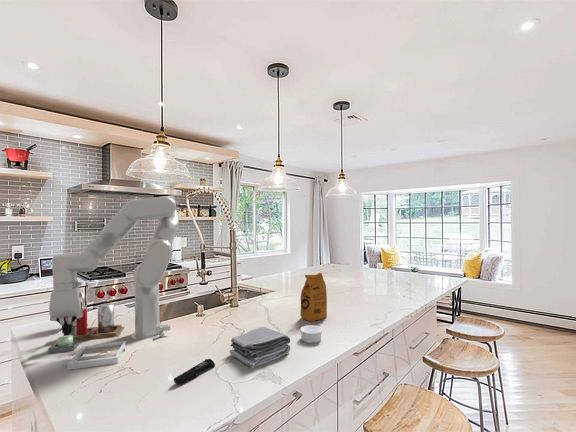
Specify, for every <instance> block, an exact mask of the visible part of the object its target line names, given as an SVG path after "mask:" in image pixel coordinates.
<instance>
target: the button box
mask: <svg viewBox="0 0 576 432" xmlns="http://www.w3.org/2000/svg"><path fill="white" fill-rule="evenodd" d="M81 343H82V341H81V338H75V339H73V343H72V344H71V345H65V346H58V339H57V340H56V341H55V342H54V343H53V344H52V345H51V346H50V347H48V348H47V352H48V354H57V353H65V352H67V353H68V352H74V351H75V350H76V349H77V348H78V346H79V345H80V344H81Z"/></svg>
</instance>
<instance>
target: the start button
mask: <svg viewBox="0 0 576 432" xmlns="http://www.w3.org/2000/svg"><path fill="white" fill-rule="evenodd" d="M57 340H58V346H65V345H71V344H72V343H73V336H72V335H67V336H64V335H62V336H60V337H57Z"/></svg>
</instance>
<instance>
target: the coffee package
mask: <svg viewBox="0 0 576 432" xmlns="http://www.w3.org/2000/svg"><path fill="white" fill-rule="evenodd" d="M304 278H305V279H306V280H305V283H304V285H303V287H302V289H301V293H300V312H299V313H300V317H301V319H303V320H305V321H307V322H310V323H312V322H316V321H319V320H320V321H321V320H324V319H326V318H327V315H328V311H327V309H328V308H327V307H328V306H327V305H328V296H327V295H328V294H327V293H328V292H327V286H326V281H325V280H324V276H323V273H322V272H318V273H316V274H305V275H304Z"/></svg>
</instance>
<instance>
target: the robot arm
mask: <svg viewBox="0 0 576 432" xmlns="http://www.w3.org/2000/svg"><path fill="white" fill-rule="evenodd" d="M151 219H158V221H157V224H156V226H155V227H156V228H155V229H154V232H153V235H152V237H151V239H149V240H150V241H149V242H148V244H147V245H146V253H145V256H144V258H143V259H142V262H141V263H139V264H138V265H137V266H136V268H135V269H134V273H133V275H134V276H133V279H134V332H132V334H131V336H130V337H131V338H132V339H135V340H148V339H152V340H153V341H154V340H157V339H159V338H161V337H162V336H163V335H164V331H165V332H169V331H171V325H169V324H164V325H163V324H162V323H161V322H160V282H161V281H162V278H163V277H164V275H165V273H166V270H167V268H168V267H169V266H168V265H169V264H170V261H171V259H172V256H173V251H174V250H173V246H172V244H173V242H174V239H175V236H176V234H177V233H178V229H179V224H180V223H179V222H180V220H179V214H178V212H177V204H176V201H175V200H174V199H173V198H171V197H169V196H167V195H166V196H158V197H157V196H156V197H149V198H140V199H139V198H138V199H137V198H136V199H131V200H129V201H127V202H126V203H125V204H124V205H123V206H122V207H121V208H120V210H119V211H118V212H116V214H115V215H114V216H113V217H112V218H111V219H110V220H109V221H108V223H106V224H105V225H104V227H103V228H102V229H101V231H100V233H99V234H98V235H97V236H96V237H95V238H94V239H93V241H92V242H91V243H90V244H89V245H88V246H87V247H86V248H85V249H84V251H83V252H82V253H79V254H78V253H77V254H74V253H60V254H59V253H58V254H55V255H54V256H53V257H52V259H51V261H52V263H51V264H52V283H53V284H52V291H51V293H50V299H49V308H48V309H49V311H48V312H49V313H48V314H49V321H51V322H57V323H58V324H59V325H60V326H61V333H62V334H63V336H66V335H70V334H71V332H72V331H73V322H74V320H75V319H78V318H81V317H83V312H82V311H83V310H84V305H83V298H82V293H83V292H82V289H81V288H80V286H82V285H83V284H82V283H83V282H81V281H79V280H78V273H90V272H93V271H95V270H96V269H97V268H98V267H99V265H100V262H102V261H103V259H104V258H105V257H106V256H107V255H108V253H109V252H111V250H112V249H114V247H115V246H116V245H118V244H119V243H121V242H122V241H123V240H124V239H125V237H127V235H128V234H129V233H130V232H131V231H132V230H133V229H134V228H135V227H136V225H137V224H138V223H140V221H147V220H151ZM81 292H82V293H81ZM66 317H68V323H67V320H66Z"/></svg>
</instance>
